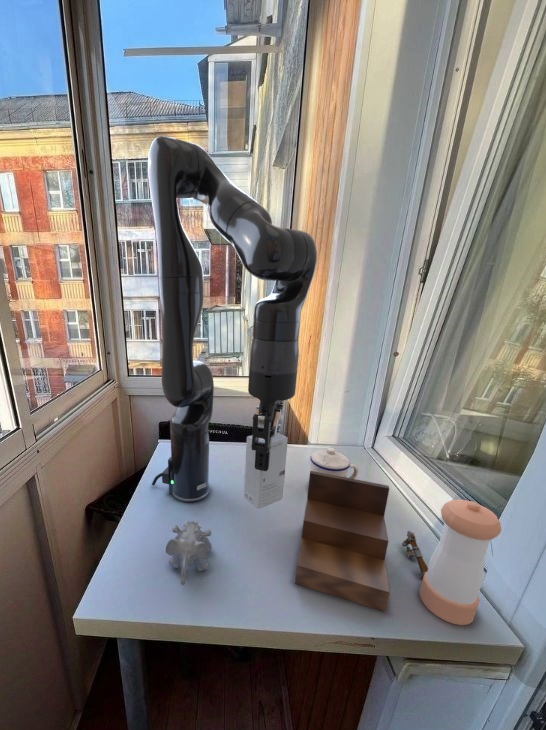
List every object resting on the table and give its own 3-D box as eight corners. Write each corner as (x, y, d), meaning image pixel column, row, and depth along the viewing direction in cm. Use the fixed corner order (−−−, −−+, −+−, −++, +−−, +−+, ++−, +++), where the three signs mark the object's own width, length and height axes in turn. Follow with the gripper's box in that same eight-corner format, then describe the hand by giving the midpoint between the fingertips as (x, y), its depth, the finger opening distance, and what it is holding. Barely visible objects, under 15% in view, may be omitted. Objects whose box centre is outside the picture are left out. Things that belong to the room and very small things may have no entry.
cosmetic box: (258, 510, 57) (263, 446, 53) (242, 497, 60) (245, 436, 57) (284, 498, 60) (290, 437, 56) (266, 486, 63) (271, 428, 60)
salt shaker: (431, 577, 59) (455, 483, 53) (481, 609, 53) (515, 507, 47) (411, 598, 55) (434, 499, 49) (463, 634, 49) (496, 527, 44)
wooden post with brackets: (406, 539, 66) (415, 528, 63) (424, 583, 60) (435, 573, 57) (396, 539, 67) (405, 528, 64) (414, 583, 60) (424, 573, 58)
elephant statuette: (208, 541, 67) (208, 509, 65) (224, 592, 56) (225, 555, 54) (162, 548, 66) (161, 516, 63) (170, 602, 54) (168, 565, 52)
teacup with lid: (314, 502, 80) (320, 458, 76) (302, 480, 88) (306, 441, 85) (363, 500, 80) (371, 457, 77) (346, 479, 89) (352, 440, 85)
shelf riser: (295, 583, 58) (302, 515, 54) (304, 528, 71) (310, 470, 67) (385, 612, 53) (401, 539, 49) (377, 546, 66) (388, 485, 62)
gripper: (260, 356, 60) (255, 438, 65) (237, 374, 48) (233, 474, 53) (302, 359, 58) (294, 445, 63) (290, 380, 45) (281, 485, 50)
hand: (266, 458), depth 58 cm, fingers closed on cosmetic box, 7 cm apart
